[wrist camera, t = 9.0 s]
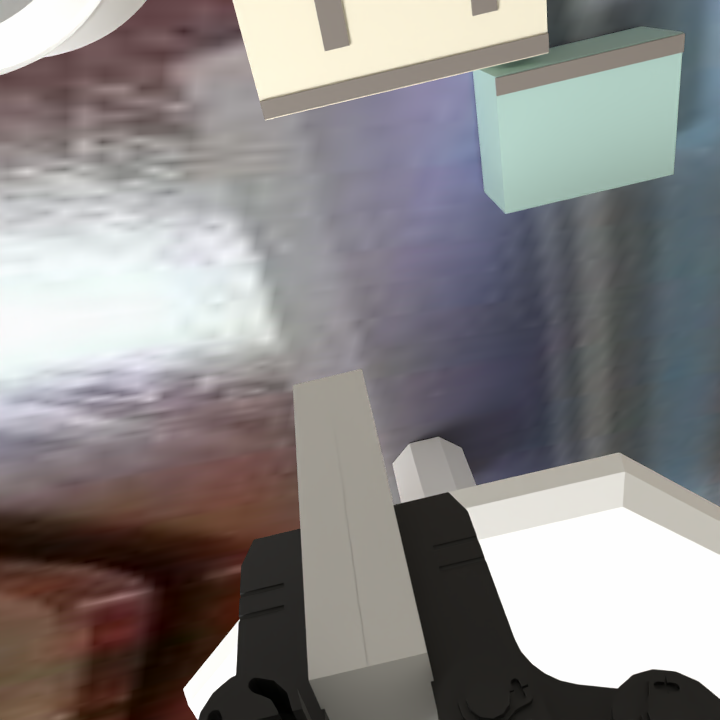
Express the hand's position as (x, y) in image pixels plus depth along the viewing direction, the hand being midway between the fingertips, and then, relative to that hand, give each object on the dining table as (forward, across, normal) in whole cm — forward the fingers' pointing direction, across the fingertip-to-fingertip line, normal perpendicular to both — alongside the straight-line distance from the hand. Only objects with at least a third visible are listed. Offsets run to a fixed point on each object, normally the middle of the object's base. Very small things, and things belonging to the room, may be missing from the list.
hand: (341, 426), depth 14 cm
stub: (+20, +13, 0) cm, 24 cm away
